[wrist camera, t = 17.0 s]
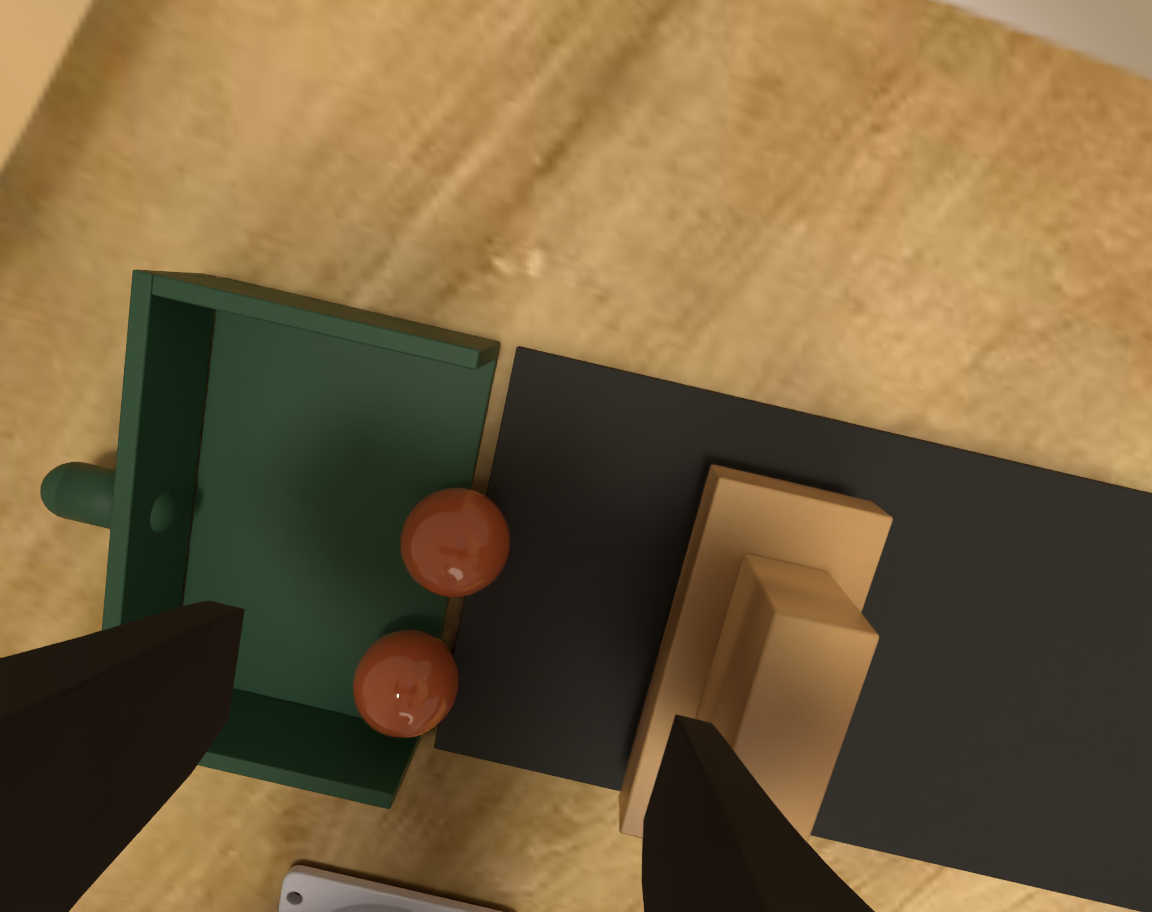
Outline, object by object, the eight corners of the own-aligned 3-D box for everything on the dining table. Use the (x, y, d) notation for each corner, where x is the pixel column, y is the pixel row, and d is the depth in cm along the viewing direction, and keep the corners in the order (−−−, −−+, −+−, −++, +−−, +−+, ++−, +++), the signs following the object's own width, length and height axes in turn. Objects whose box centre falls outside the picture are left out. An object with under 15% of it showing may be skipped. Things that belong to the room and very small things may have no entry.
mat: (1235, 927, 23) (1243, 935, 23) (436, 743, 23) (433, 748, 23) (1428, 557, 20) (1440, 561, 20) (517, 345, 20) (516, 346, 20)
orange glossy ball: (427, 453, 20) (516, 481, 19) (458, 519, 22) (540, 548, 21) (360, 534, 19) (452, 571, 17) (400, 597, 21) (485, 633, 19)
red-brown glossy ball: (344, 761, 19) (354, 708, 22) (458, 757, 20) (453, 706, 23) (350, 652, 19) (359, 614, 22) (465, 652, 20) (459, 615, 22)
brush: (753, 796, 23) (808, 989, 16) (617, 765, 23) (620, 945, 16) (854, 486, 20) (963, 570, 14) (703, 451, 20) (745, 520, 14)
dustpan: (500, 341, 20) (480, 350, 17) (421, 739, 23) (390, 810, 20) (111, 251, 20) (16, 242, 17) (78, 660, 23) (-8, 718, 20)
